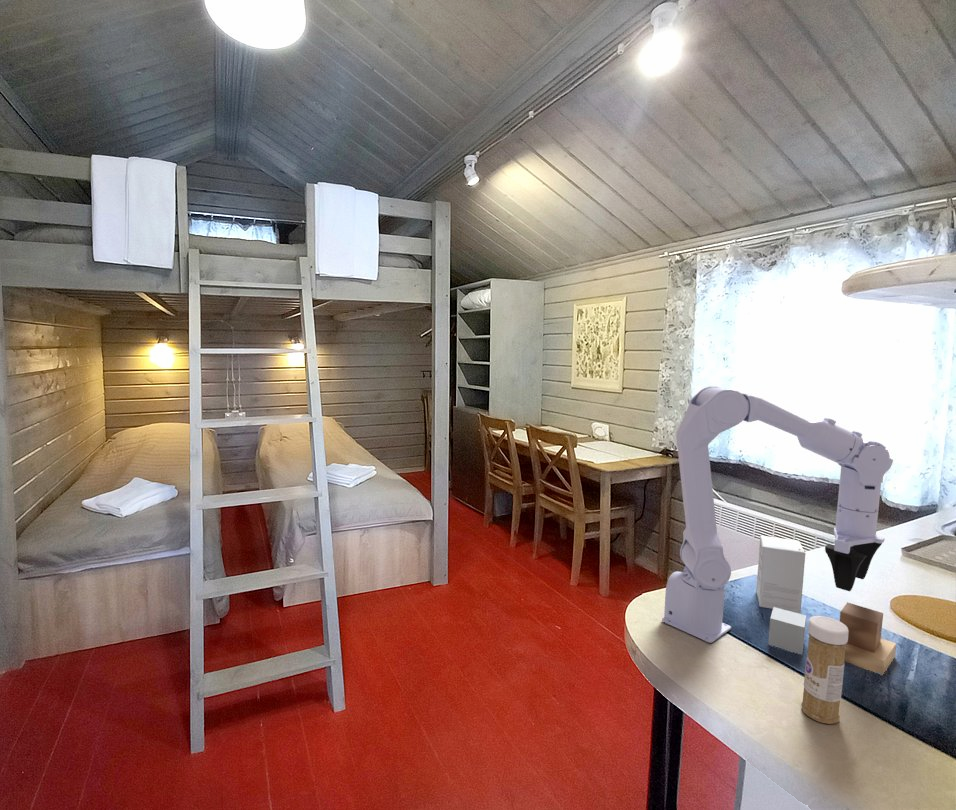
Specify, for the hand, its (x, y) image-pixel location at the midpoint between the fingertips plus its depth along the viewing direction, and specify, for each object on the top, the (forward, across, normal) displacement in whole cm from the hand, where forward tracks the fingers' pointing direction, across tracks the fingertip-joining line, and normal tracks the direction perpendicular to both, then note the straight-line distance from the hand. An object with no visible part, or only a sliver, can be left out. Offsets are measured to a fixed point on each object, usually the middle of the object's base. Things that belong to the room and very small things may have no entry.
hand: (850, 582), depth 90 cm
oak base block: (+11, -4, -3) cm, 12 cm away
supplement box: (+11, +5, +13) cm, 18 cm away
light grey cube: (+10, -10, +6) cm, 16 cm away
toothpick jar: (+11, -26, -4) cm, 28 cm away
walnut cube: (+8, -4, -3) cm, 9 cm away
